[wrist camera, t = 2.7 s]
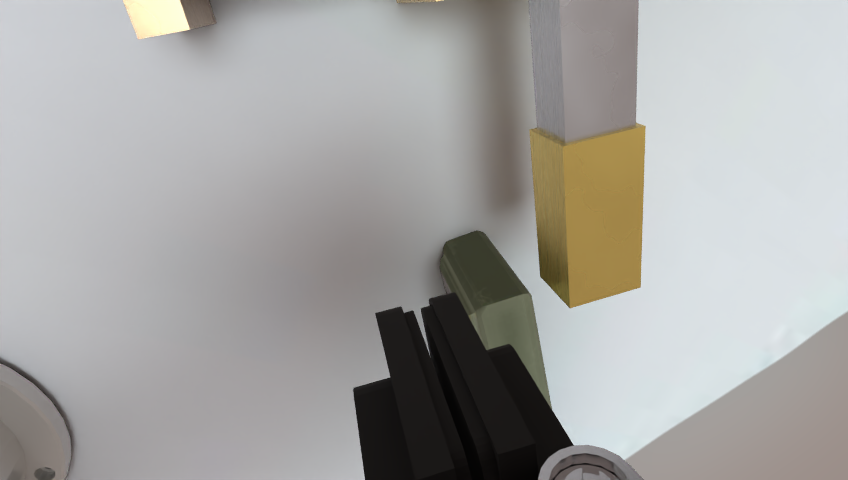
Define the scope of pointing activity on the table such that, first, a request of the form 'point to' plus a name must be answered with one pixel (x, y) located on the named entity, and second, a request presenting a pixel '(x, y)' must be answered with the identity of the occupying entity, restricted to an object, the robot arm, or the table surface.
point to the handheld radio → (494, 300)
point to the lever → (587, 147)
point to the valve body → (176, 15)
